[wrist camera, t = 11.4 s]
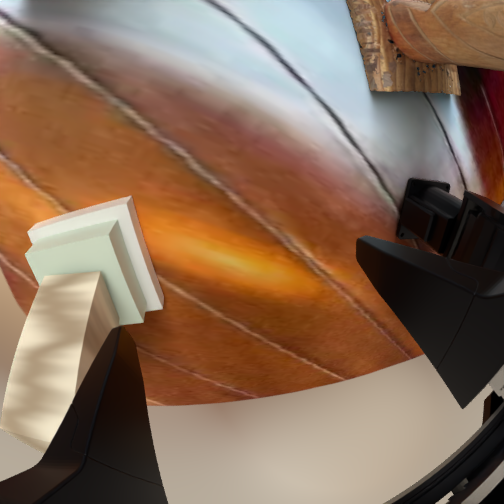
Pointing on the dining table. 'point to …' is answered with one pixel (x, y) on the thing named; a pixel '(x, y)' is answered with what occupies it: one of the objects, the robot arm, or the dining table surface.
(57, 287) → the ash pillar
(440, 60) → the bird sculpture
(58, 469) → the robot arm
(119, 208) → the grey base slab
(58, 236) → the sage top slab
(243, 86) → the dining table surface
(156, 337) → the dining table surface
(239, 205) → the dining table surface
